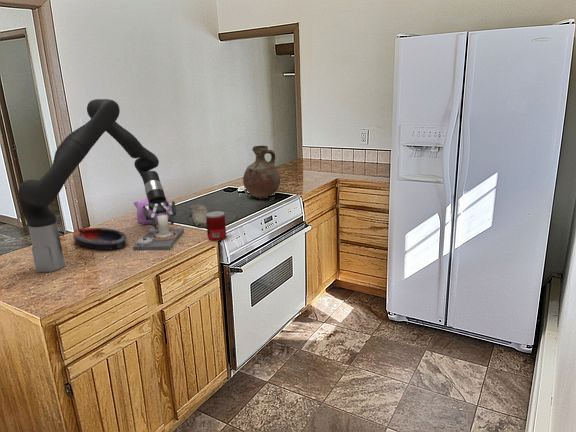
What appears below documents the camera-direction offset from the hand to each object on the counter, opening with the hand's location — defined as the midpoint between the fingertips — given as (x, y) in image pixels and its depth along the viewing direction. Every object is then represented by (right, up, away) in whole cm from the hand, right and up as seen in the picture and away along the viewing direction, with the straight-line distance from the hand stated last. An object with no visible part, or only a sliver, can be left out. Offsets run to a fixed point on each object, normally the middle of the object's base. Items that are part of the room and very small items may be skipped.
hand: (164, 225), depth 185 cm
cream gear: (-1, -5, +3) cm, 6 cm away
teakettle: (-14, +2, +34) cm, 37 cm away
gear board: (-3, -7, +4) cm, 8 cm away
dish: (-28, -8, +3) cm, 30 cm away
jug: (+38, +15, +72) cm, 83 cm away
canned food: (+22, -6, +5) cm, 23 cm away
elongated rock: (+8, +2, +35) cm, 36 cm away
